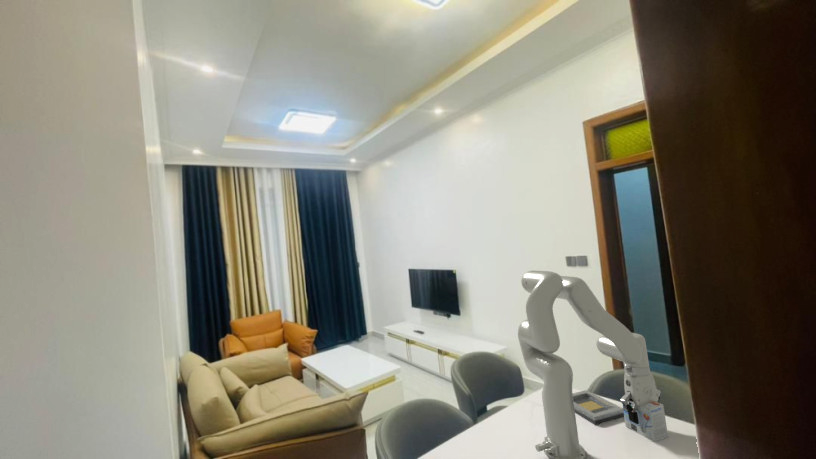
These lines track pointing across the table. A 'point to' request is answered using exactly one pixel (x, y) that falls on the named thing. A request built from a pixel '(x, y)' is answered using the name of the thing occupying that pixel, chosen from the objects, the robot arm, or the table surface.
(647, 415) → the light bulb box
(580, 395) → the gray rectangular frame
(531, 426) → the table surface
